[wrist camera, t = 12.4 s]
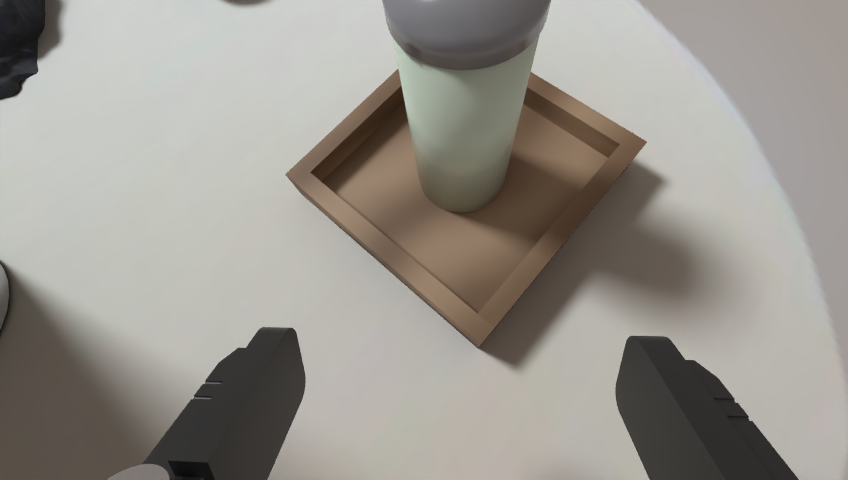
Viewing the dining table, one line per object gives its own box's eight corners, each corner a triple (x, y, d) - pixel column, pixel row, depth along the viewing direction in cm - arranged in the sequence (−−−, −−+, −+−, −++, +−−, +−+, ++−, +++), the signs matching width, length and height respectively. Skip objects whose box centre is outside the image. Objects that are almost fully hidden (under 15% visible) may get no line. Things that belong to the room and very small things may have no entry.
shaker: (398, 179, 23) (343, -17, 12) (456, 120, 24) (455, -111, 13) (467, 232, 22) (479, 69, 10) (525, 167, 23) (593, -46, 11)
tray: (301, 194, 25) (285, 174, 22) (448, 52, 27) (447, 22, 25) (477, 348, 21) (480, 344, 18) (628, 165, 24) (646, 141, 21)
